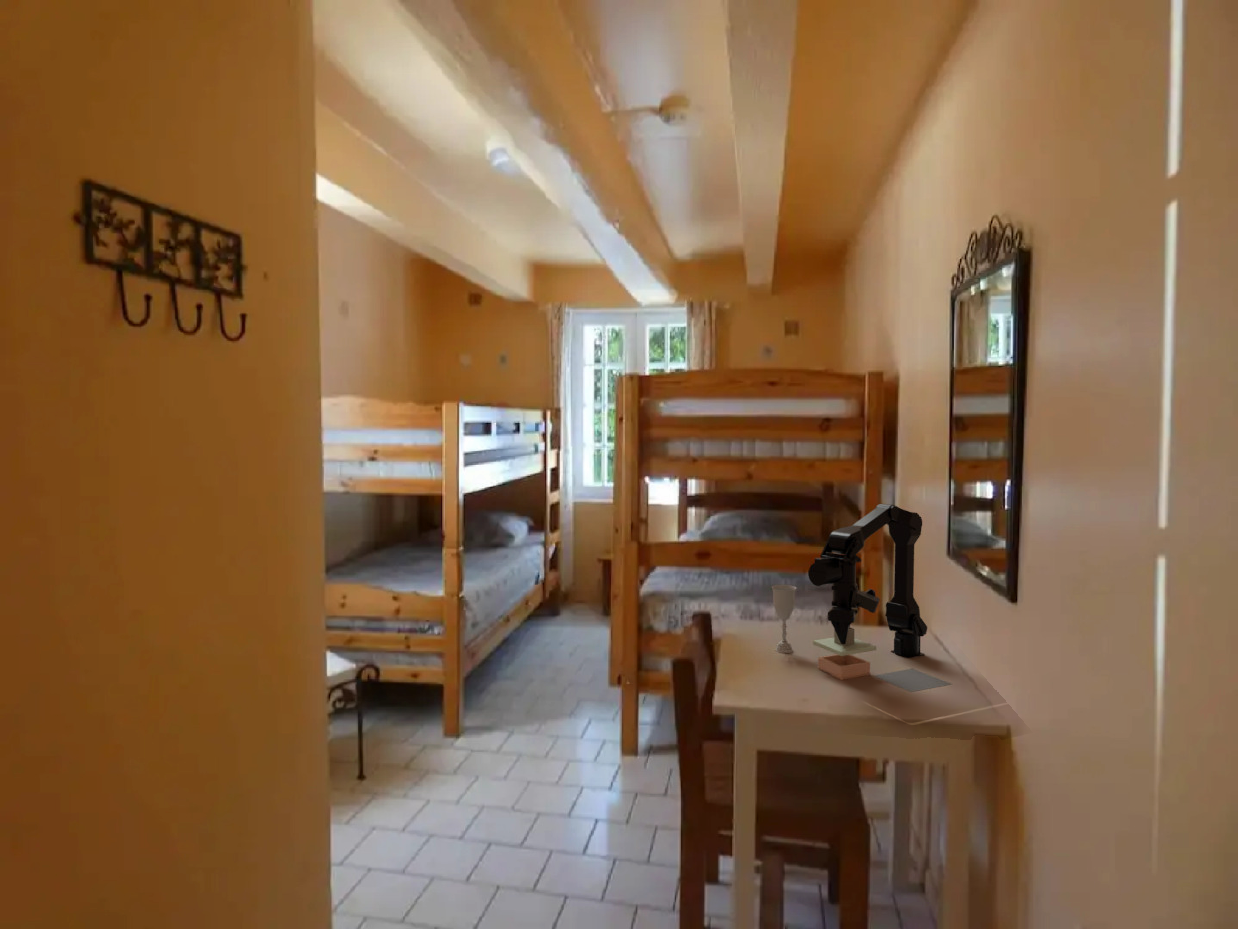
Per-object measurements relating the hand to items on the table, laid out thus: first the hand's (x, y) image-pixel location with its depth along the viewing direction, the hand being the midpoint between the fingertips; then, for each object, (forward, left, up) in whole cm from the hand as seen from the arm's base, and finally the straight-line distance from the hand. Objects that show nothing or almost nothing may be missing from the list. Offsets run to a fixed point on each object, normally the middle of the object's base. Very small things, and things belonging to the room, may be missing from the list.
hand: (844, 641), depth 194 cm
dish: (0, 0, -8) cm, 8 cm away
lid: (0, 0, -2) cm, 2 cm away
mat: (-11, +12, -8) cm, 18 cm away
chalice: (+2, -23, -9) cm, 25 cm away
